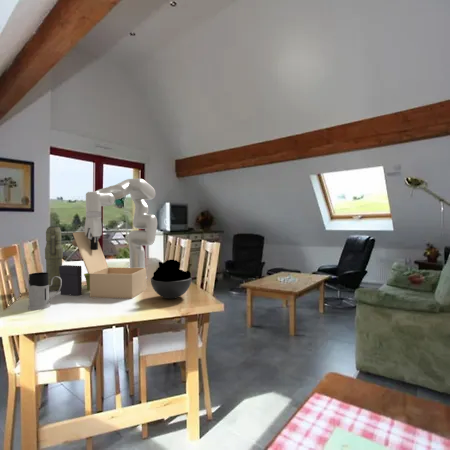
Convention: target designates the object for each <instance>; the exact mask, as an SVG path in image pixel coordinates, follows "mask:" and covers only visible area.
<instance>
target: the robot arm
mask: <svg viewBox="0 0 450 450" xmlns="http://www.w3.org/2000/svg"><path fill="white" fill-rule="evenodd" d="M128 195H130V198H131V200H132V202H133V204H134V207H135V208H134V215H133V219H132V220H133V221H132V226H133V227H134V228H135V229H137V230H131V231H130V232H129V233H128V235H127V241H128V246H129V247H128V248H129V268H146V258H145V257H146V253H145V248H144V246H152V245H154V244H155V241H156V235H157V229H158V219H157V216H156V215H155V214H151V213H150V214H148V213H149V206H148V204H147V202H146V200H147V201H150V200H153V199H155V197H156V190H155V188H154V187H153V186H152V185H151V184H150V183H148V182H147V181H146V180H145V179H143V178H140V177H139V178H127V179H124V180H122V181H121V182H119V183H117V184H114V185H110V186H107V187H103V188H100V189H97V190H95V191H88V192H86V193H85V222H84V232H85V236H86V237H88V239H89V240H90V243H91V250H98V241H99V239H101V236H102V235H103V225H102V207H109V206H112V205H113V204H114V203H115V201H116V200H119V199H123V198H124V197H127V196H128ZM147 279H148V276H147V275H146V280H147Z"/></svg>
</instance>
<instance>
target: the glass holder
mask: <svg viewBox="0 0 450 450" xmlns="http://www.w3.org/2000/svg"><path fill="white" fill-rule="evenodd" d="M55 277H58V276H55ZM55 277H53V278H52V280H51V285H52V281H53V279H54V278H55ZM58 278H59V279H60V281H61V284H60V288H59V290H58V291H56V293H55V294H54V295H53V296H52V297H50V291H49V286H51V285H49V284H48V273H46V271H43V272H40V271H39V272H33V273H29V274H28V307H27V309H28V310H29V311H38V310H44V309H48V308H50V307H51V303H50V301H51V300H52V299H53V298H54V297H56V296H57V295H58V293H59V292H60V289H61V285H62V280H61V278H60V277H58Z"/></svg>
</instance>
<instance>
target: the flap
mask: <svg viewBox="0 0 450 450" xmlns="http://www.w3.org/2000/svg"><path fill="white" fill-rule="evenodd" d="M72 235H73V237H74V239H73V240H72V241H71V243H72V246H73V247H75V248H78V251H79V253H80V256H81V258H82V260H83V264H84V266H85V269H86V271H87V273H88V274H90V273H93V272H96V271H99V270H102V269H105V268H108V267H109V265H108V263H107V259H106V258H105V257H106V256H105V255H104V252H103V250H102V247H101V245H100V242H99V240H98V250H91V243H90V240H89V239H88V237H86V236H85V231H78V232H75V231H74V232H72Z"/></svg>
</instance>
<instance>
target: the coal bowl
mask: <svg viewBox="0 0 450 450" xmlns="http://www.w3.org/2000/svg"><path fill="white" fill-rule="evenodd" d="M180 268H181V262H180V261H179V260H177V259H167V260H166V261H164V262H161V261H159V262H158V267H157V269H156V270H155V271H154V272H153V275H152V277H151V278H150V284H151V286H152V288H153V290H154V291H155V292H156V294H158V296H160V297H162V298H165V299H177V298H179V297H181V296H183V295H184V294H185V293H186V292H187V291H188V290H189V289H190V287H191V284H192V273H191V272H190V270H186V271H184V270H183V269H180Z"/></svg>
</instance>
